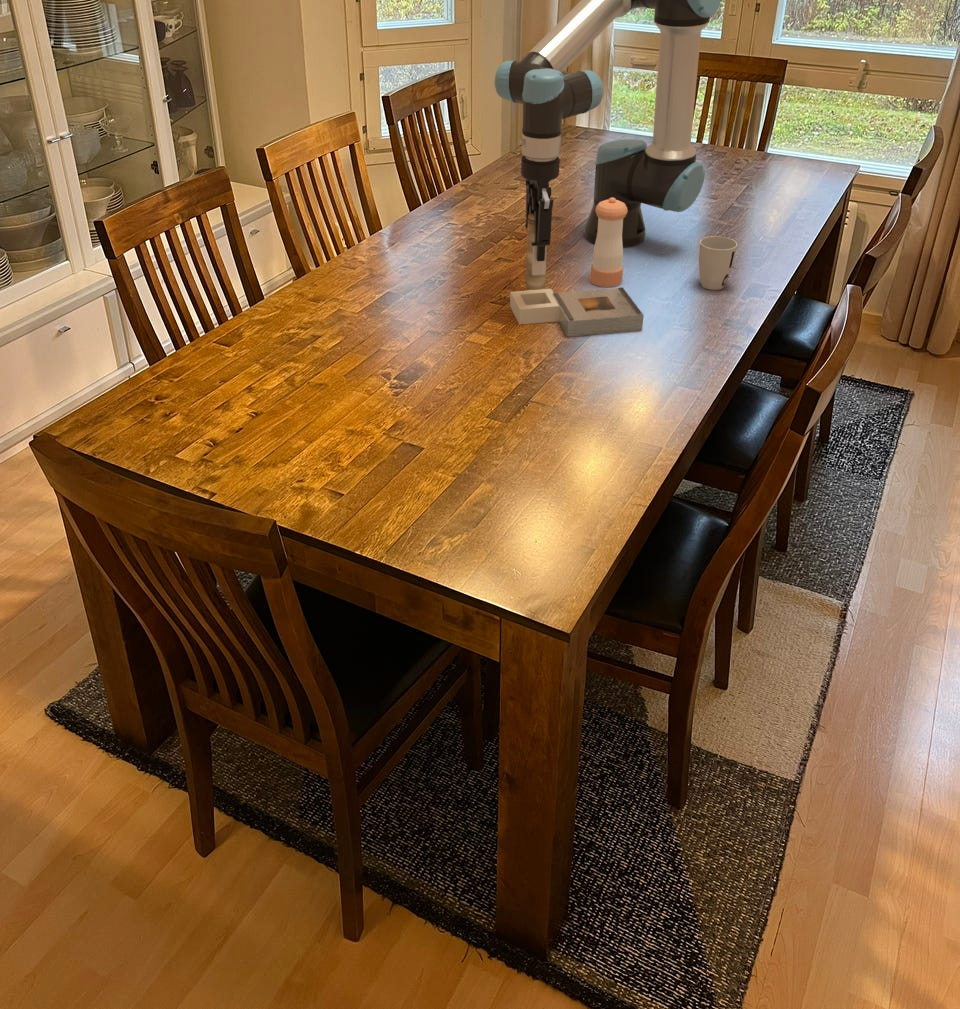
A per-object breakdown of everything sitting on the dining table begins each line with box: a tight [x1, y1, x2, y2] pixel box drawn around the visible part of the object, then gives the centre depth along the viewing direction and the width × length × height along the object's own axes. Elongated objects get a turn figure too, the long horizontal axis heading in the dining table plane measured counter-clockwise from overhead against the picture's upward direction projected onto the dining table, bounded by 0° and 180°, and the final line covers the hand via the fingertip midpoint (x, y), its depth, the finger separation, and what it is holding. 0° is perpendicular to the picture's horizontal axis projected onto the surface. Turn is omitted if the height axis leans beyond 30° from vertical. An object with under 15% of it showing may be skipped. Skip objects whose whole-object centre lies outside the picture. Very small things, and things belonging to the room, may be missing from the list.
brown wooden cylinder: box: [525, 213, 546, 290], centre depth 206 cm, size 4×4×15 cm
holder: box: [509, 288, 560, 326], centre depth 213 cm, size 9×9×4 cm
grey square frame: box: [553, 287, 645, 338], centre depth 211 cm, size 14×16×4 cm
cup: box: [698, 235, 738, 291], centre depth 223 cm, size 8×8×10 cm
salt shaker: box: [589, 198, 628, 288], centre depth 222 cm, size 7×7×19 cm
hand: (536, 269), depth 208 cm, fingers closed on brown wooden cylinder, 4 cm apart
